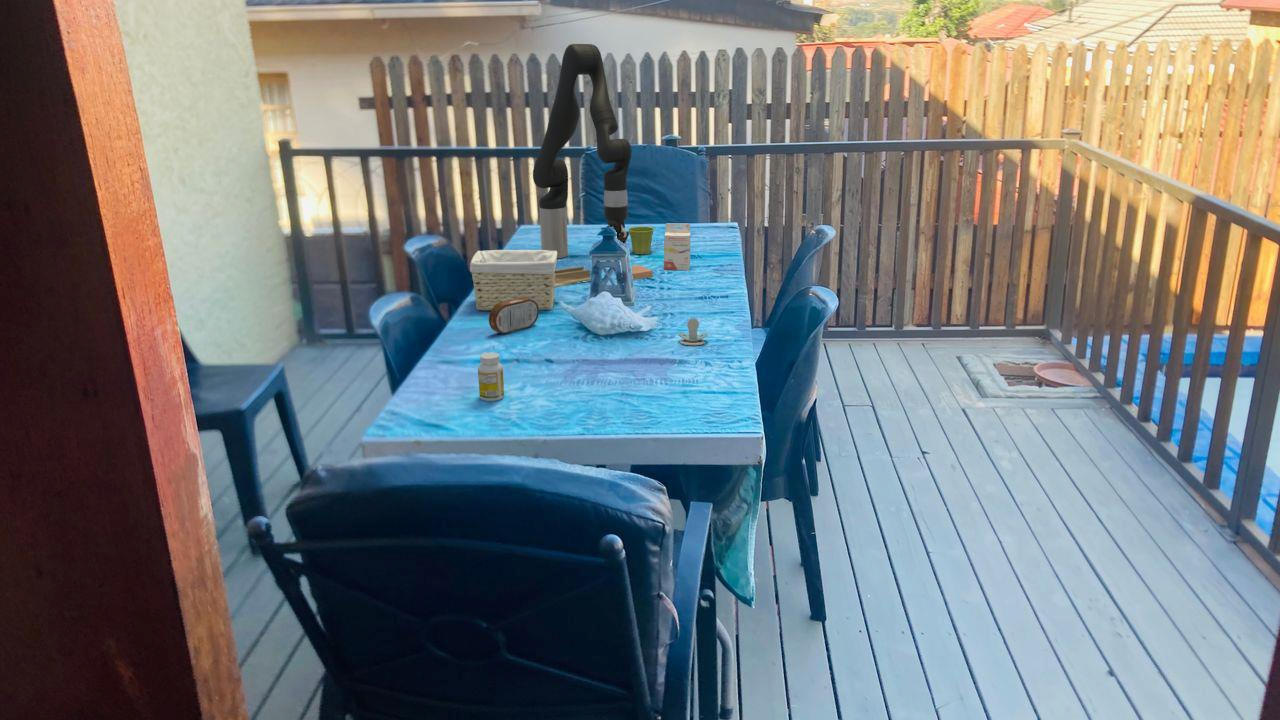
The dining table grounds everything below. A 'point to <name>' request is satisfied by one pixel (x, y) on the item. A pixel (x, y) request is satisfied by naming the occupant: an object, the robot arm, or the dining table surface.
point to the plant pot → (641, 239)
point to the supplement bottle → (490, 377)
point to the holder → (571, 276)
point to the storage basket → (513, 277)
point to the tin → (513, 315)
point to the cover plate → (641, 272)
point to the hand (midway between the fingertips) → (617, 257)
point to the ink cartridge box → (677, 247)
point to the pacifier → (692, 334)
